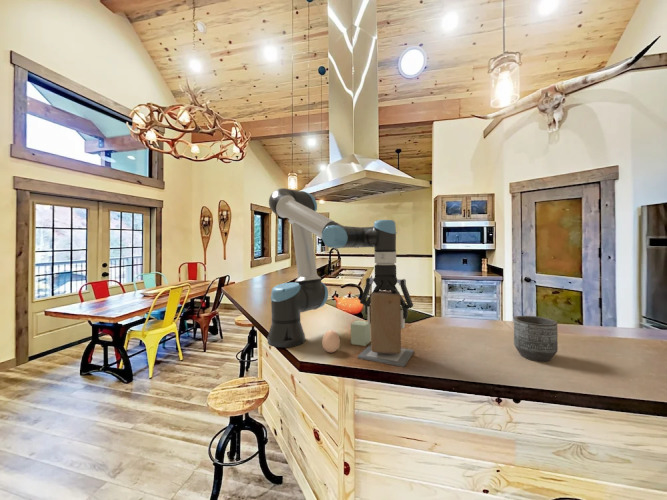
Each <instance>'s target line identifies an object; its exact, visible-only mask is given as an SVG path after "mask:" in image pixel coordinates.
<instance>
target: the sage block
mask: <svg viewBox="0 0 667 500" xmlns="http://www.w3.org/2000/svg"><path fill="white" fill-rule="evenodd" d="M370 343H371V324H370V325H368V320H367V321H366V320H365V321H364V320H359V319H358V320H355V321H353V322H352V323H350V344H351V345H355V346H356V345H357V346H361V347H367V346H368V345H369V344H370Z"/></svg>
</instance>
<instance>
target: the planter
mask: <svg viewBox="0 0 667 500" xmlns="http://www.w3.org/2000/svg"><path fill="white" fill-rule="evenodd" d="M513 345H514V347H515V349H516V350H517V352H518V353H519V355H520V356H521V357H522V358H525V359H526V360H529V361H534V362H543V363H544V362H546V363H547V362H550V361H551V360H552V359H553V358H554V357H555V355H556V354H557V353H558V350H559V349H558V348H559V347H558V321H556V320H554V319H552V318H548V317H547V318H546V317H544V316H543V317H542V316H537V315H536V316H535V315H517V316H513Z"/></svg>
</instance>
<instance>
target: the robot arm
mask: <svg viewBox="0 0 667 500" xmlns="http://www.w3.org/2000/svg"><path fill="white" fill-rule="evenodd" d="M268 205H269V209H270V210H271V211H272V213H274V214H275V215H276V216H278V217H280V218H282V219H285V218H286V219H287V222H288V223H289V224H290V225H291V228H292V237H293V244H294V245H293V247H294V253H295V261H296V262H295V263H296V271H297V278H296V279H295V281H294V282H285V283H280V284H276V285H275V286H273V288H272V289H271V295H270V300H271V301H270V302H271V303H270V304H271V325H270V328H269V332H268V335H267V344H268V345H269V346H271V347H274V348H292V347H297V346H300V345H302V344H303V343H304V342H306V341H305V340H306V335H305V332H304V327H303V326H302V322H301V313H305V312H308V311H312V310H313V311H314V310H318V309H320V308H323V307H324V305H325V304H326V303H327V301H328V298H329V289H328V287H327V286H326V284H325V283H324V282H323V281H322V278H321V276H319V275H318V273H317V272H318V271H317V264H316V255H315V249H314V248H315V247H314V239H313V235H315V236H317V237H319V238H320V239H321V240H322V243H324V245H325V247H327V248H332V249H343V248H348V249H349V248H353V249H354V248H355V249H357V248H358V249H359V248H374V250H373V251H374V263H375V264H374V277H367V278H366V279H365V281H366V282H365V287H364V289H363V293H362V295H361V298H360V300H359V303H360V304H362V305H364V314H365V315H367V322H368V325H371V295H372V293H373V292H378V291H379V290H381V291H391V292H392V293H393V294H400V297H401V330H403V329H405V327H406V320H407V319H408V317H409V316H408V315H409V314H408V313H409V311H408V310H409V309H412V308H413V307H414V303H413V301H412V298H411V295H410V293H409V291H408V288H407V281H406V279H405V278H402V279H400V278H399V279H398V278H397V265H396V263H397V246H396V245H397V240H396V239H397V229H396V228H397V227H396V221H394V219H393V220H392V219H378V220H375V221H374V223H373V226H365V227H364V226H349V225H348V226H347V225H342V224H340V223H338V222H336V221H334V220H333V219H330V218H329V217H327V216H325V215H323V214H321V213H319V212H317V210H318V203H317V200H316V198H315V197H314V195H312V194H311V193H309V192H306V191H303V190H302V191H301V190H295V189H291V188H285V187H284V188H283V187H282V188H278V189H275V190H274V191H273V192H272V193H271V194H270V195H269V198H268ZM373 283H374V284H375V287H374V289H373V291H372V292H371V294H370V295H369V293H370V290H371V287H372V284H373ZM397 284H398V286H400V289H401V292H402V295H403V296H402V295H401V293H400V291H399V292H398V288H397V286H396V285H397ZM368 295H369V296H368ZM403 297H404V298H403Z"/></svg>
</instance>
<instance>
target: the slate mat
mask: <svg viewBox="0 0 667 500" xmlns="http://www.w3.org/2000/svg"><path fill="white" fill-rule="evenodd" d="M413 354H414V349H409V348H404V347H401V352H400V353H399V354H395V353H379V352H372V350H371V343H369V344H368V345H367V346H366V348H365V349H364V350H362V351H361V352H360V353H359V354H358V355H357V359H359V360H367V361H371V362H375V363H381V364H386V365H391V366H397V367H401V368H405V366H406V365H407V363H408V362H409V360H410V359H411V357H412V355H413Z"/></svg>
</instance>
